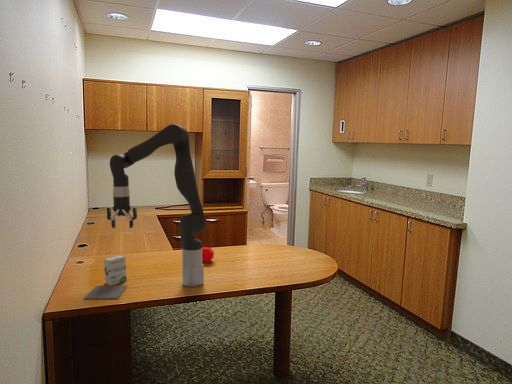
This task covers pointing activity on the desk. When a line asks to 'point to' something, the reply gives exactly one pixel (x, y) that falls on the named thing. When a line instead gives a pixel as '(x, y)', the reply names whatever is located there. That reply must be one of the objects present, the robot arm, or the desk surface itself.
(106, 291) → the charcoal mat
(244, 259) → the desk surface
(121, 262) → the ink box
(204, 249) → the ball
